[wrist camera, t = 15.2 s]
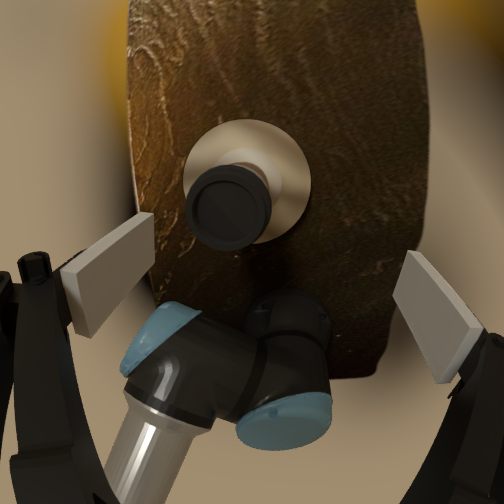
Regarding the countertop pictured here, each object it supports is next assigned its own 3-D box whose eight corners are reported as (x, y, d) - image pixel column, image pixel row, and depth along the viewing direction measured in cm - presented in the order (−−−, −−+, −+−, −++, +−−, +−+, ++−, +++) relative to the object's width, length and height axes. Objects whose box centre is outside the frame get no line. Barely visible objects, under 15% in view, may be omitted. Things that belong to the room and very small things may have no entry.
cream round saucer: (295, 250, 45) (295, 254, 43) (181, 228, 45) (177, 232, 44) (321, 133, 37) (322, 133, 36) (195, 112, 38) (191, 112, 36)
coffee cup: (242, 224, 42) (222, 272, 28) (203, 181, 40) (162, 208, 26) (287, 188, 39) (290, 220, 26) (248, 141, 37) (227, 147, 24)
